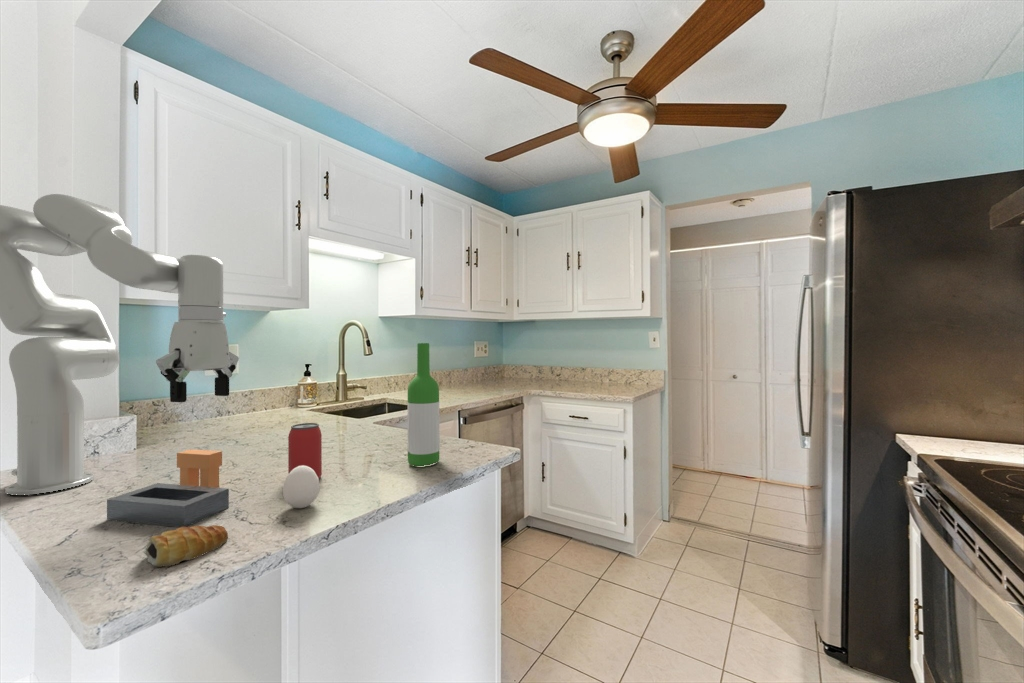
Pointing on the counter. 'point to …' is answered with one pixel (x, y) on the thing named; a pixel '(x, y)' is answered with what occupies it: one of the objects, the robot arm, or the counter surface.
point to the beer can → (305, 447)
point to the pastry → (184, 544)
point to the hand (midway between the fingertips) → (201, 398)
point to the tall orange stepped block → (199, 467)
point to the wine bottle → (423, 413)
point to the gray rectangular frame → (168, 504)
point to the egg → (301, 487)
